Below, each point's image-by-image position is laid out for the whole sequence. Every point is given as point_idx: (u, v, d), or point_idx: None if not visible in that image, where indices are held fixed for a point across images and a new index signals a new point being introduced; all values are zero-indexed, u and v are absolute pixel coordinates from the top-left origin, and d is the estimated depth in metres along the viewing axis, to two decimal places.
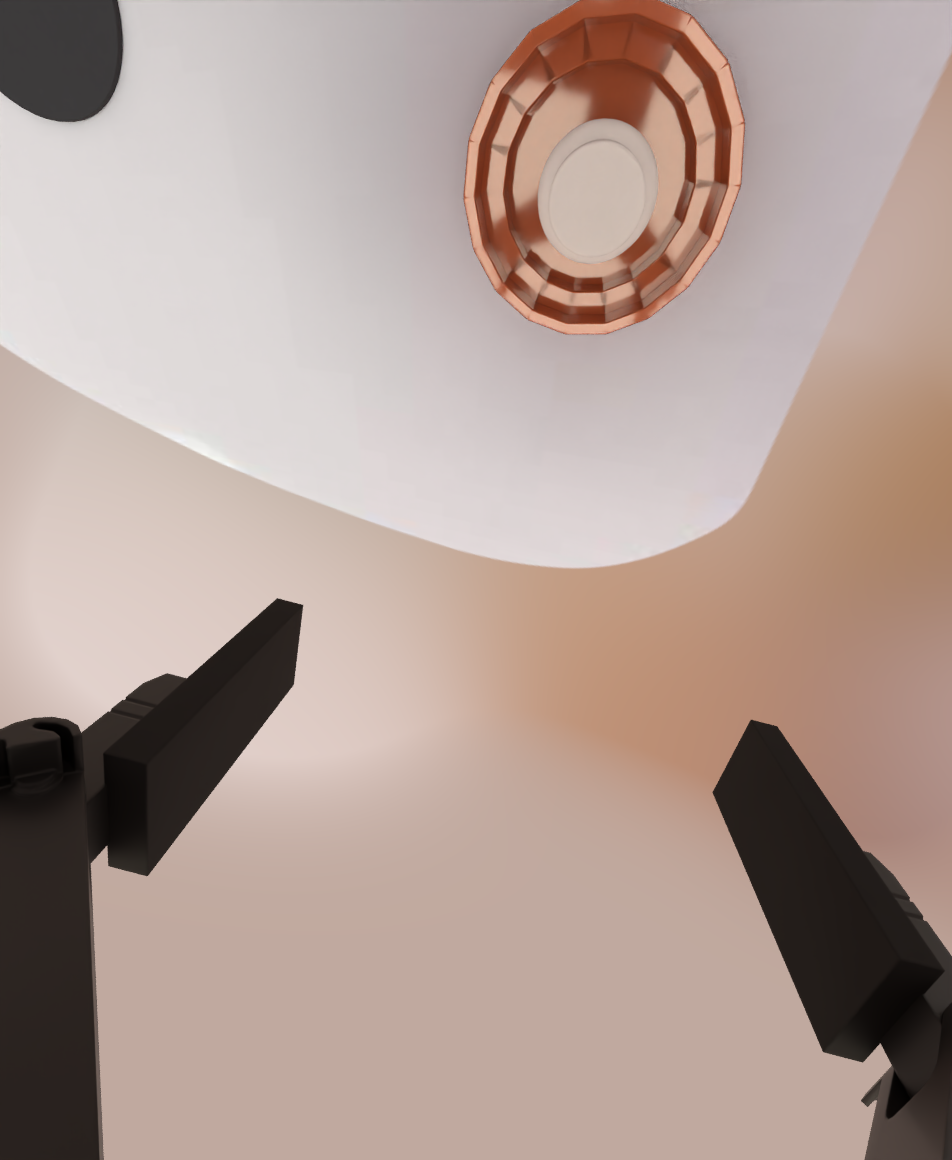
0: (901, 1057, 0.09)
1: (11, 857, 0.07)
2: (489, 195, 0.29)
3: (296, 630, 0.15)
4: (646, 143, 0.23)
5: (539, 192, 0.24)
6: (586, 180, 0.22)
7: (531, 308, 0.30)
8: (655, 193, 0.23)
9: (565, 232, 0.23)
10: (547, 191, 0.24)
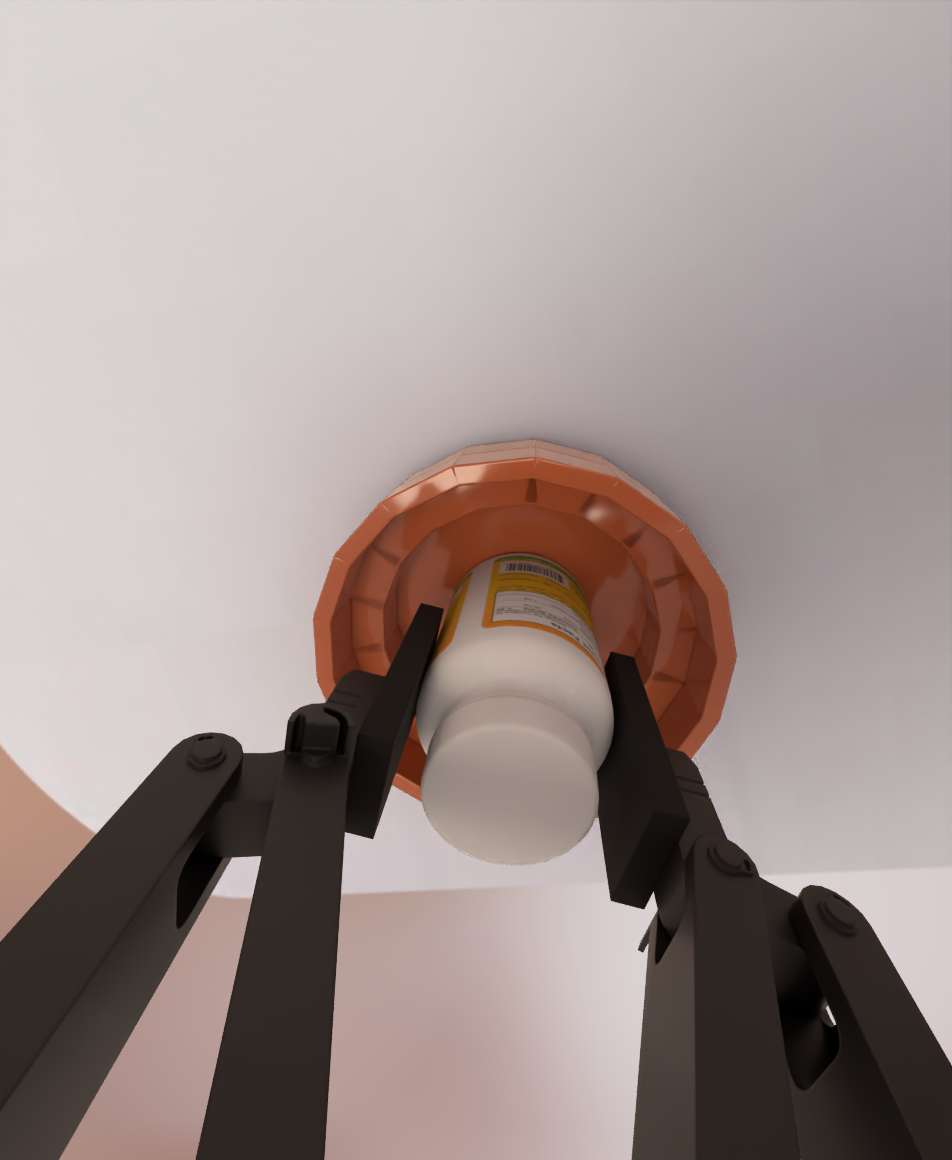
0: (661, 907, 0.11)
1: (295, 813, 0.09)
2: (468, 487, 0.17)
3: (438, 631, 0.17)
4: None
5: (495, 642, 0.13)
6: (535, 779, 0.11)
7: (332, 618, 0.17)
8: None
9: (448, 766, 0.12)
10: (500, 663, 0.13)
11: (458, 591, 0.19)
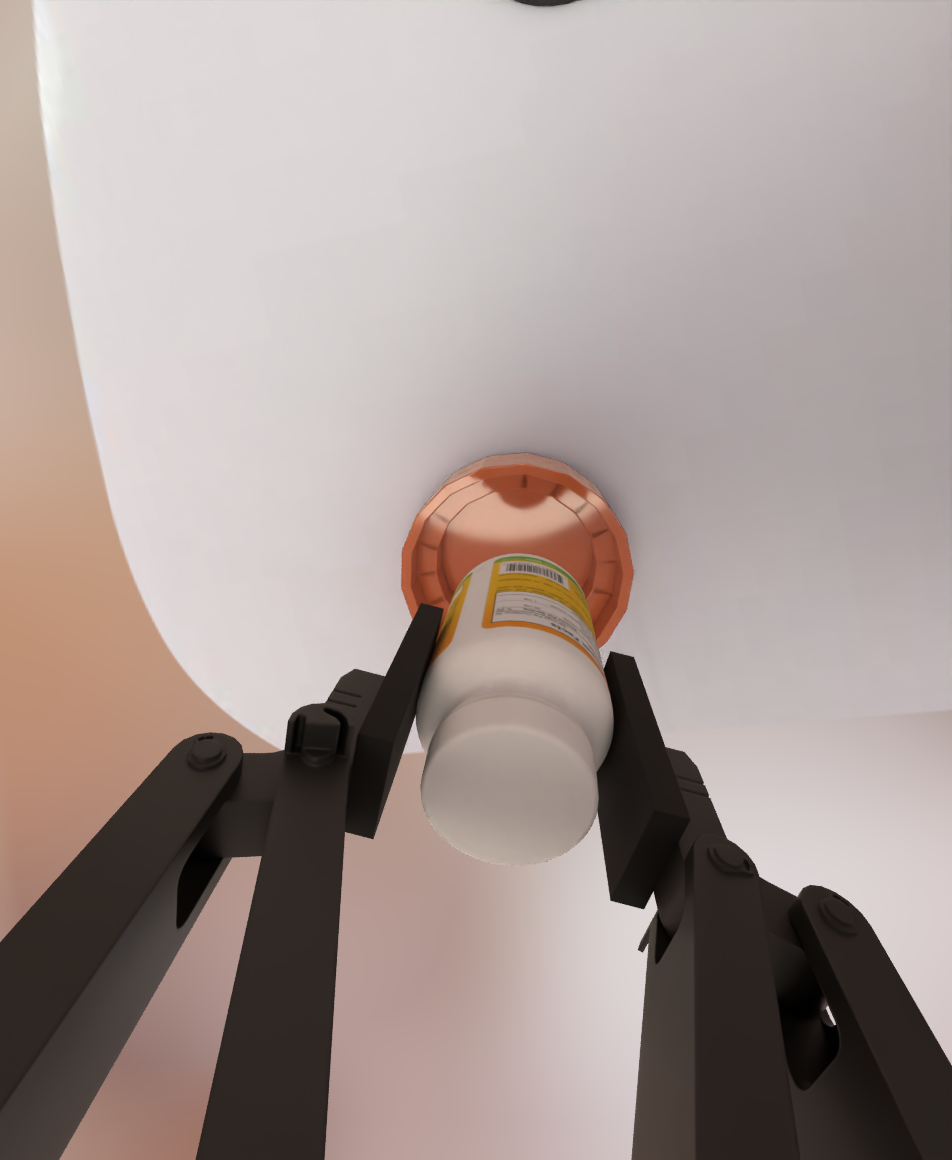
0: (661, 907, 0.11)
1: (295, 813, 0.09)
2: (489, 479, 0.31)
3: (438, 631, 0.17)
4: None
5: (495, 643, 0.13)
6: (534, 780, 0.11)
7: (412, 551, 0.31)
8: None
9: (448, 766, 0.12)
10: (500, 664, 0.13)
11: (458, 591, 0.19)
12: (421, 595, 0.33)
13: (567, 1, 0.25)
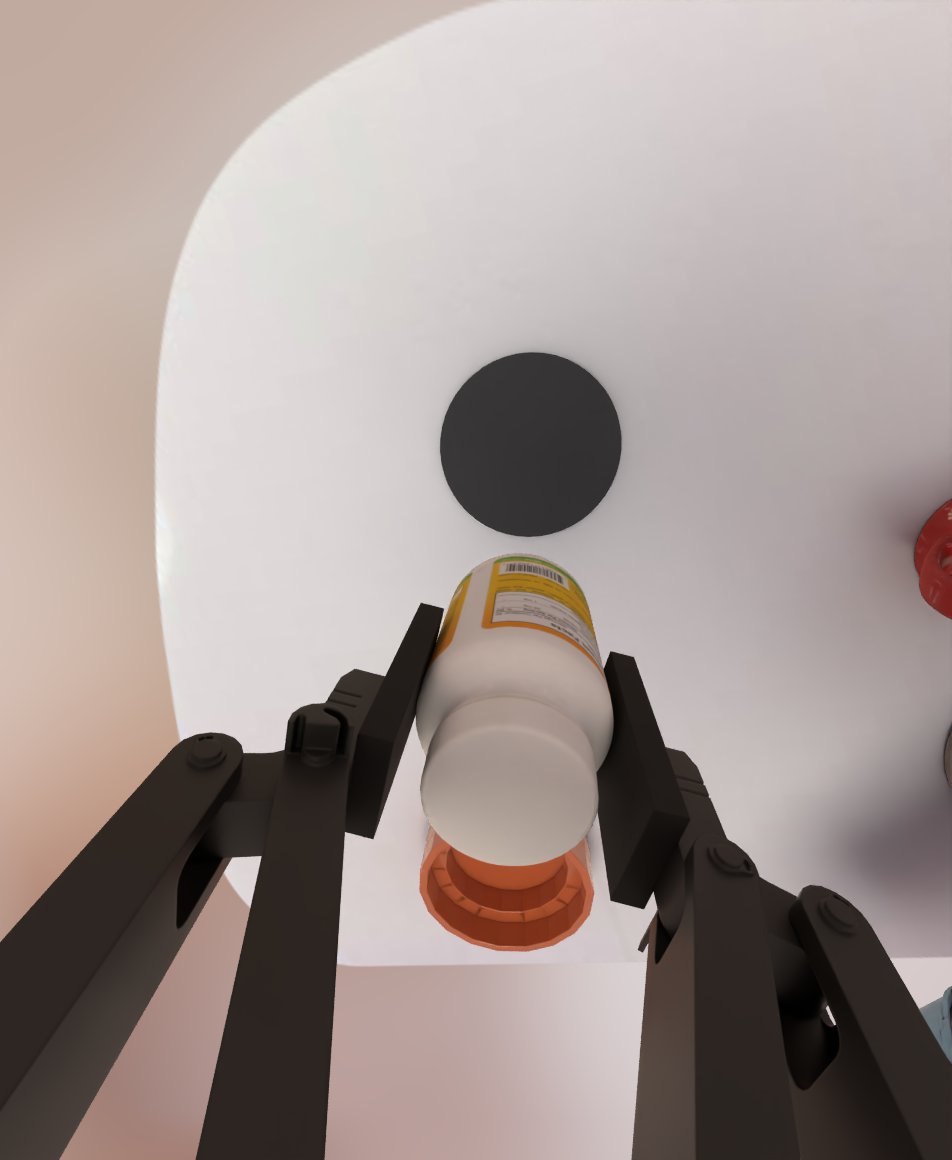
0: (661, 907, 0.11)
1: (295, 813, 0.09)
2: None
3: (438, 631, 0.17)
4: None
5: (495, 643, 0.13)
6: (535, 780, 0.11)
7: (428, 869, 0.41)
8: None
9: (448, 767, 0.12)
10: (500, 664, 0.13)
11: (458, 592, 0.19)
12: (434, 886, 0.43)
13: None
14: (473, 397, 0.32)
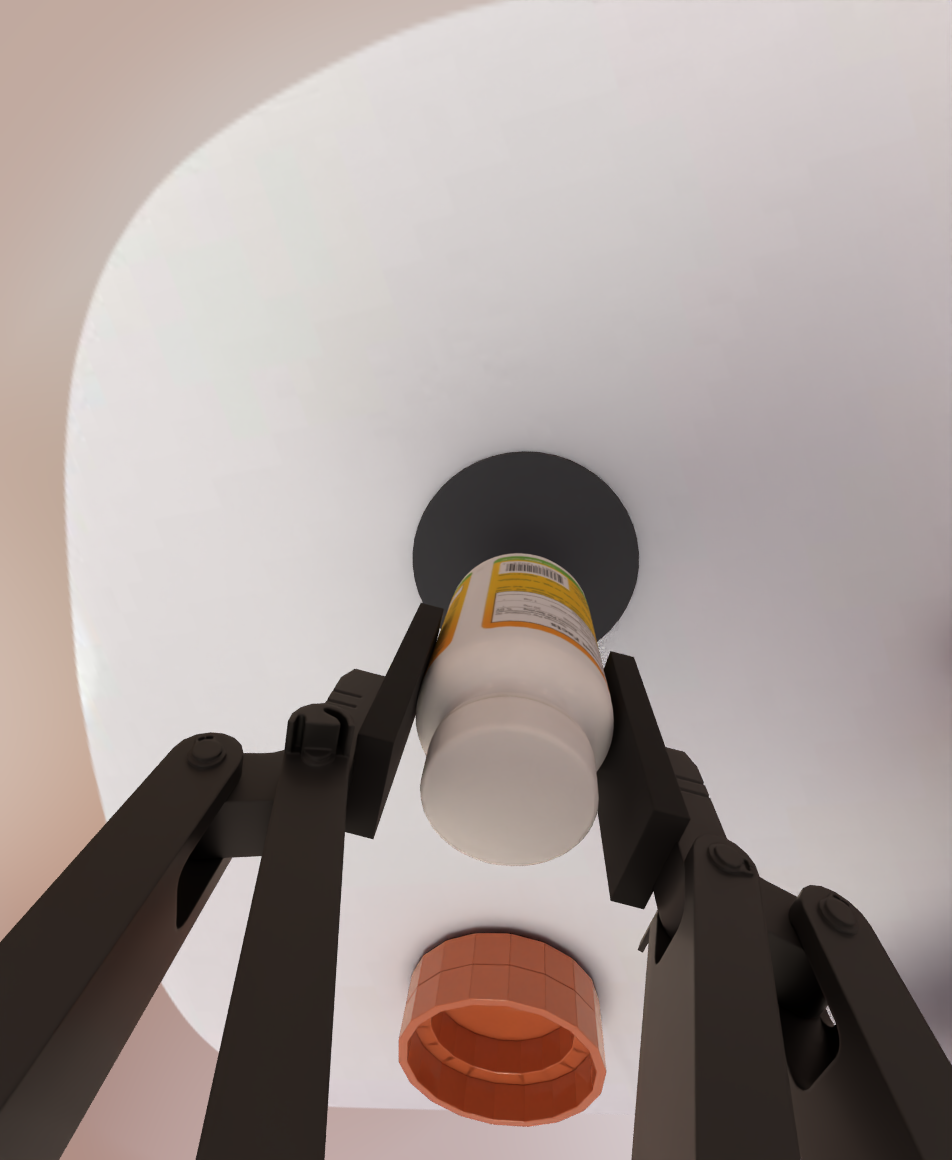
0: (661, 907, 0.11)
1: (295, 813, 0.09)
2: None
3: (438, 631, 0.17)
4: None
5: (495, 643, 0.13)
6: (535, 780, 0.11)
7: None
8: None
9: (448, 766, 0.12)
10: (500, 664, 0.13)
11: (458, 591, 0.19)
12: (417, 1048, 0.37)
13: None
14: (453, 504, 0.25)
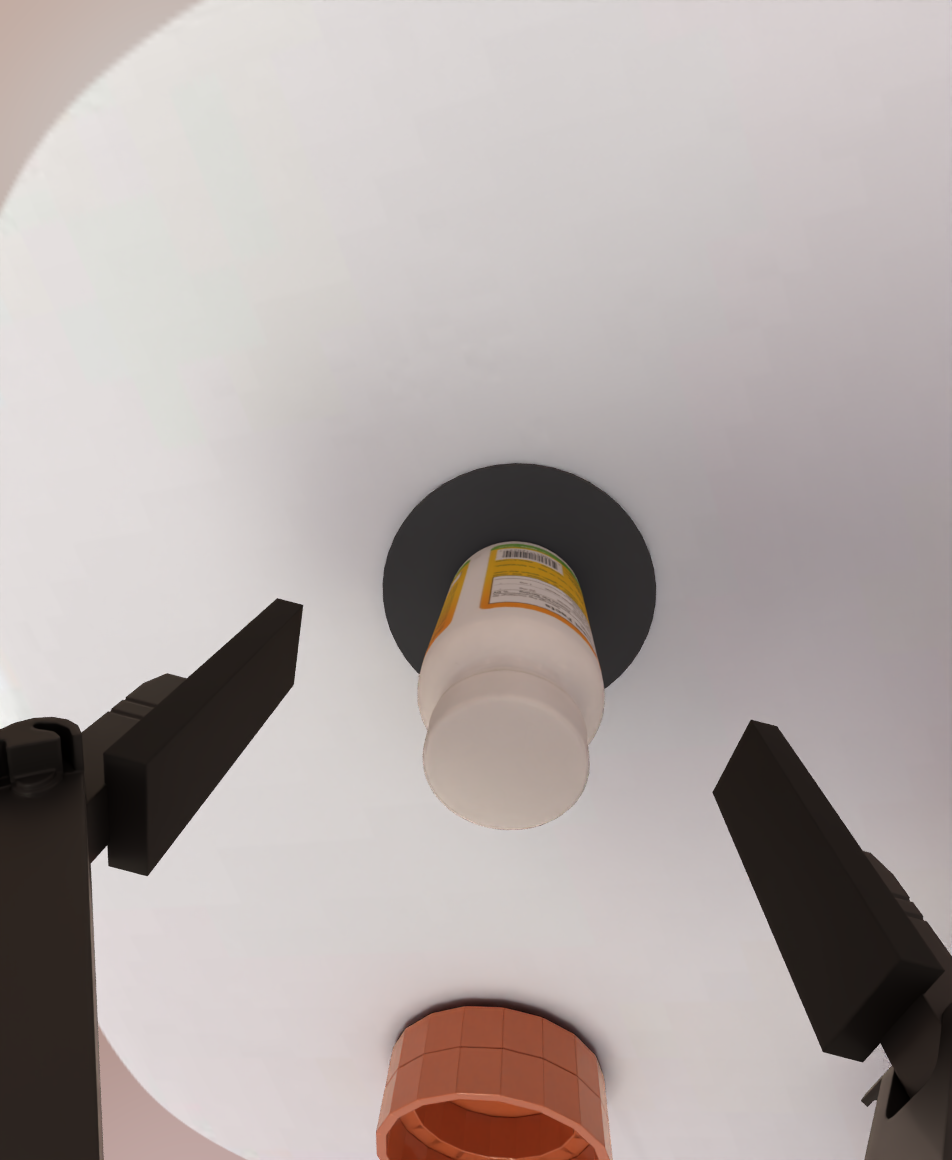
0: (901, 1057, 0.09)
1: (11, 857, 0.07)
2: None
3: (296, 630, 0.15)
4: None
5: (492, 622, 0.14)
6: (529, 747, 0.12)
7: None
8: None
9: (448, 735, 0.12)
10: (497, 641, 0.14)
11: (456, 578, 0.20)
12: (398, 1134, 0.32)
13: None
14: (429, 527, 0.21)
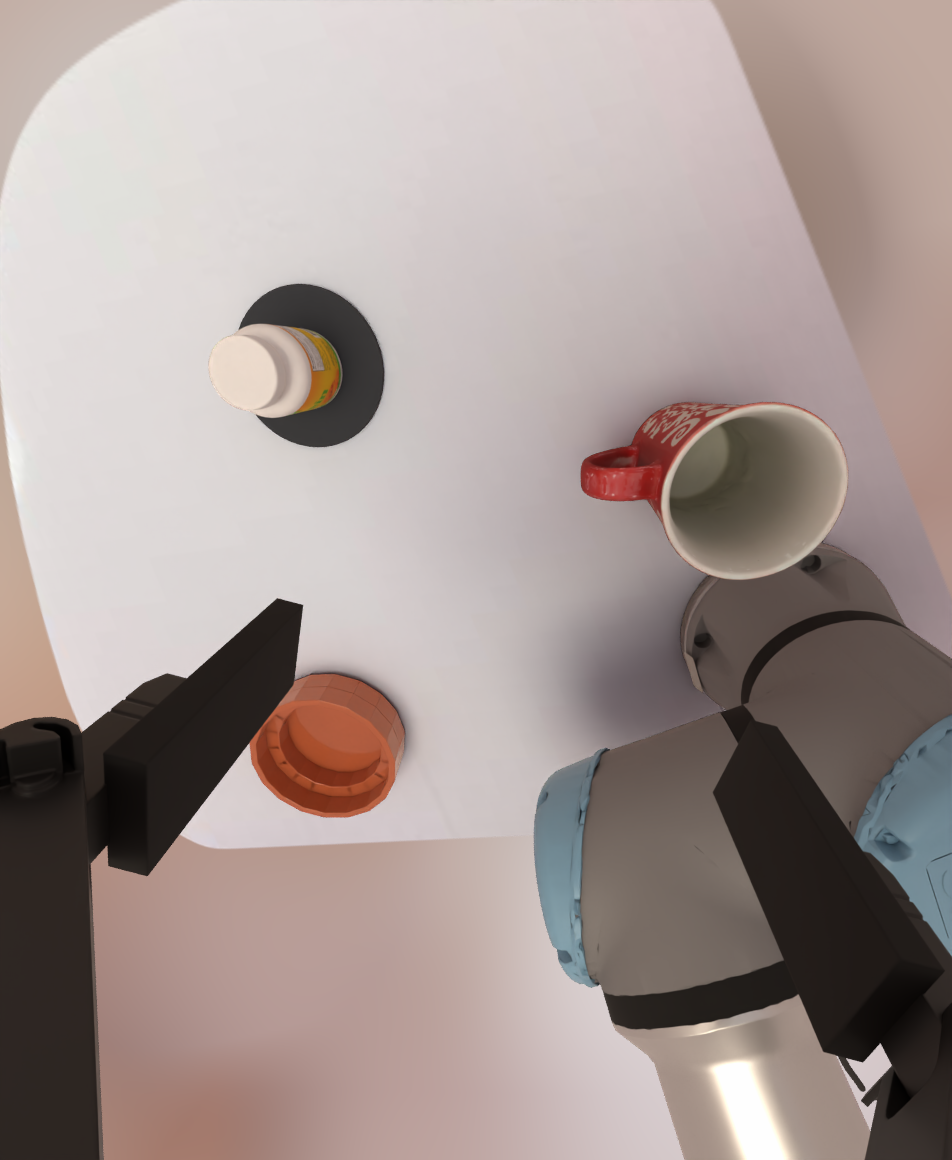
0: (901, 1057, 0.09)
1: (11, 857, 0.07)
2: None
3: (296, 630, 0.15)
4: (302, 396, 0.33)
5: (250, 326, 0.31)
6: (250, 361, 0.29)
7: (256, 742, 0.48)
8: (280, 414, 0.33)
9: (217, 356, 0.29)
10: (249, 332, 0.31)
11: None
12: (269, 762, 0.50)
13: None
14: (256, 322, 0.38)
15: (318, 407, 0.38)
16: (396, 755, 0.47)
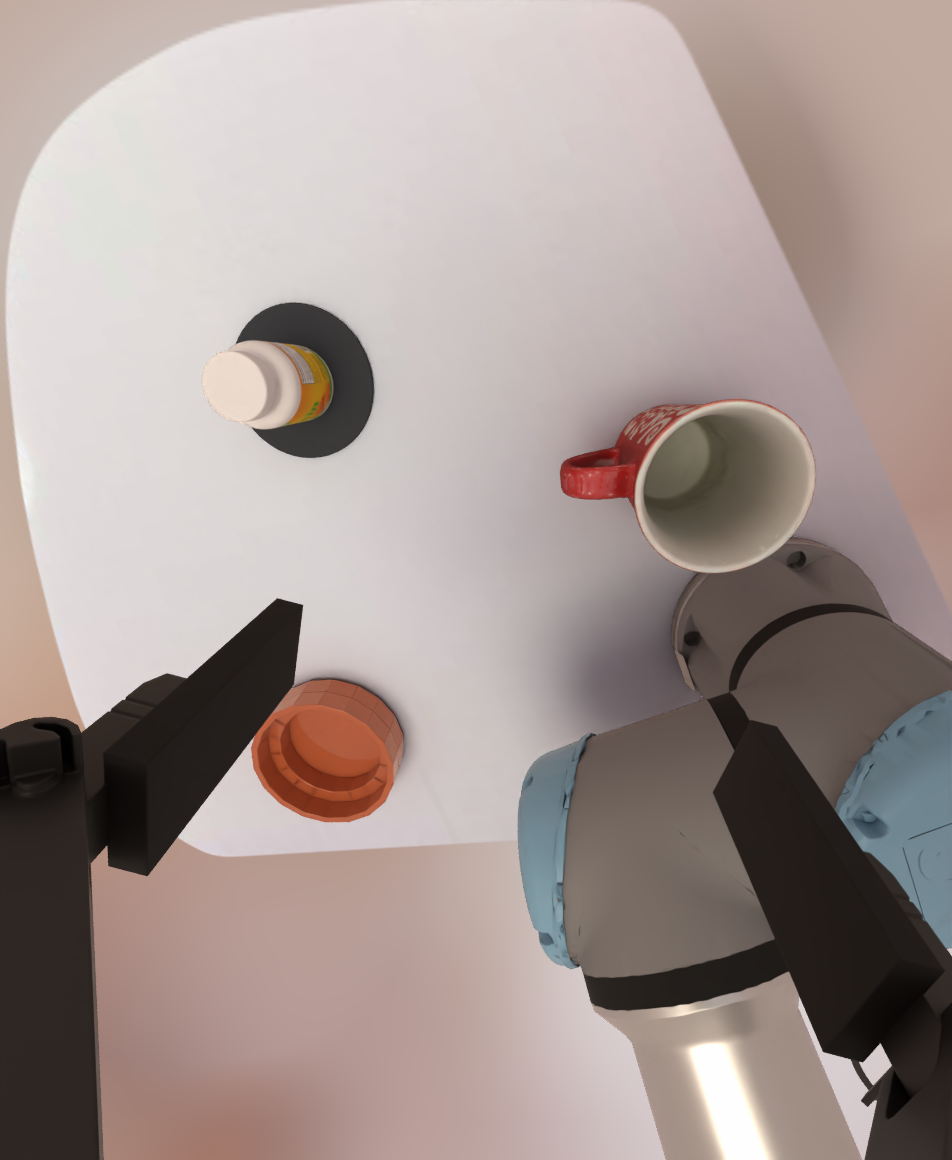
0: (901, 1057, 0.09)
1: (11, 857, 0.07)
2: None
3: (296, 630, 0.15)
4: (292, 408, 0.34)
5: (241, 342, 0.33)
6: (241, 375, 0.31)
7: (257, 748, 0.49)
8: (272, 426, 0.34)
9: (210, 371, 0.31)
10: (241, 348, 0.33)
11: None
12: (271, 767, 0.51)
13: (320, 456, 0.42)
14: (251, 340, 0.39)
15: (311, 419, 0.40)
16: (394, 759, 0.48)
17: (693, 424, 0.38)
